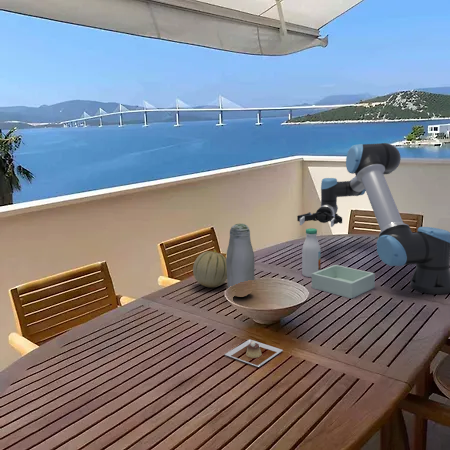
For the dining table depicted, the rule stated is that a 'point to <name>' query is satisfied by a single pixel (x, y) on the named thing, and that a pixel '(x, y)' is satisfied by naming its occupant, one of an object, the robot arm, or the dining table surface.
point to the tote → (343, 281)
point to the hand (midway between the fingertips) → (315, 223)
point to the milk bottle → (311, 253)
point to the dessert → (253, 350)
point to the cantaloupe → (210, 269)
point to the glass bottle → (239, 255)
